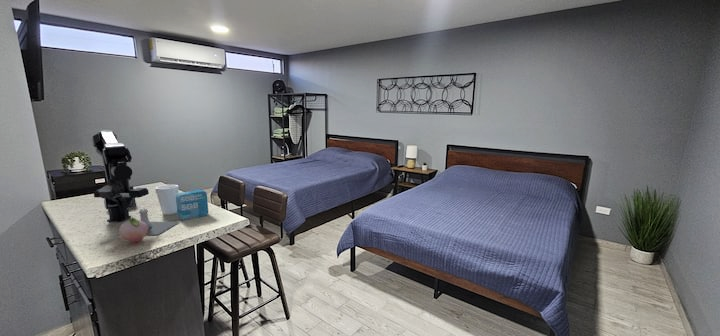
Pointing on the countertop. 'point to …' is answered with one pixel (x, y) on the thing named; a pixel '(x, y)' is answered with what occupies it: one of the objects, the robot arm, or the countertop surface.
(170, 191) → the foam cup
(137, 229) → the decorative fruit
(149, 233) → the mat
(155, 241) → the countertop surface
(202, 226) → the countertop surface
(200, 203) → the data package
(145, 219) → the rook chess piece
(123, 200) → the robot arm
